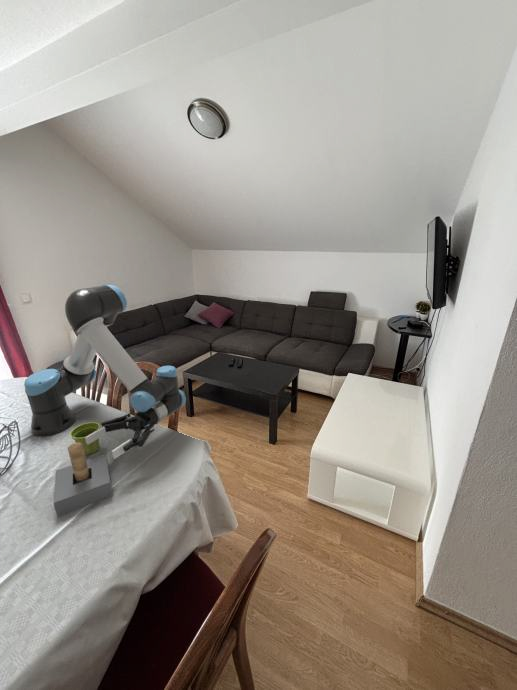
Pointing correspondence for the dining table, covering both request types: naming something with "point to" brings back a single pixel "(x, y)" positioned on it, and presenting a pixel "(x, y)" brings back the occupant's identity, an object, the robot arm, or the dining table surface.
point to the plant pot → (82, 432)
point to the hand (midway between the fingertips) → (99, 447)
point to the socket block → (81, 486)
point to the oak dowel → (78, 462)
